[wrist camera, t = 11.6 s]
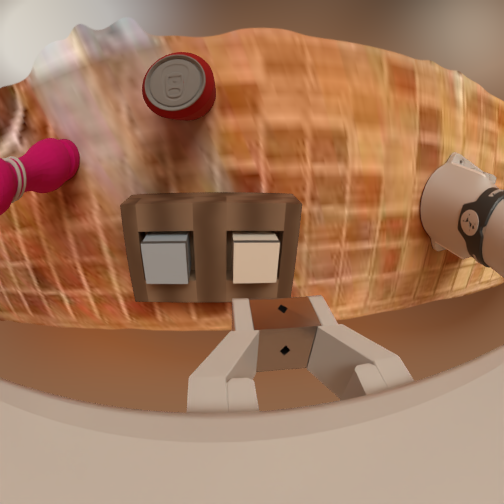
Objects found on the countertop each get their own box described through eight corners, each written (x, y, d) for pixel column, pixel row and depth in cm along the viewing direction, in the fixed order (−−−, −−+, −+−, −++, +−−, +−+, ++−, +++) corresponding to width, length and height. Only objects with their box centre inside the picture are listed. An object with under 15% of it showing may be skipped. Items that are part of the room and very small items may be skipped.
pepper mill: (59, 126, 29) (-42, 146, 11) (91, 153, 32) (-5, 189, 14) (38, 167, 31) (-56, 210, 13) (68, 193, 33) (-20, 253, 15)
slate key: (189, 228, 36) (185, 243, 31) (191, 265, 38) (188, 284, 34) (149, 228, 35) (140, 244, 31) (153, 265, 38) (146, 284, 33)
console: (292, 193, 37) (302, 204, 33) (283, 281, 43) (290, 300, 39) (132, 194, 35) (120, 205, 30) (143, 282, 41) (135, 301, 36)
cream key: (273, 227, 37) (280, 243, 33) (270, 264, 40) (276, 282, 35) (231, 227, 37) (233, 243, 32) (231, 264, 39) (232, 283, 34)
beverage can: (216, 70, 29) (215, 45, 18) (215, 120, 32) (212, 116, 21) (164, 73, 28) (138, 52, 18) (163, 122, 31) (136, 122, 21)
